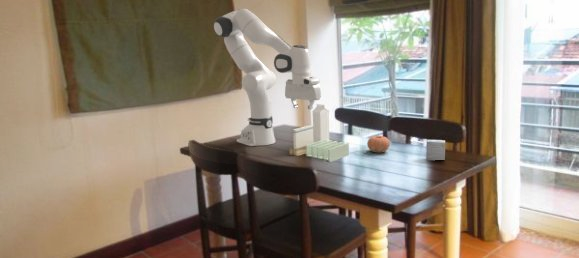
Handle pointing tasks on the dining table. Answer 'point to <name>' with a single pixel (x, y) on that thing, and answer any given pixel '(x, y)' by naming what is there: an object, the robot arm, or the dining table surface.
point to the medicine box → (435, 150)
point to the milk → (320, 123)
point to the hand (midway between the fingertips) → (302, 108)
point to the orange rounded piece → (378, 144)
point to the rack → (327, 150)
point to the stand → (298, 151)
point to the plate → (303, 136)
